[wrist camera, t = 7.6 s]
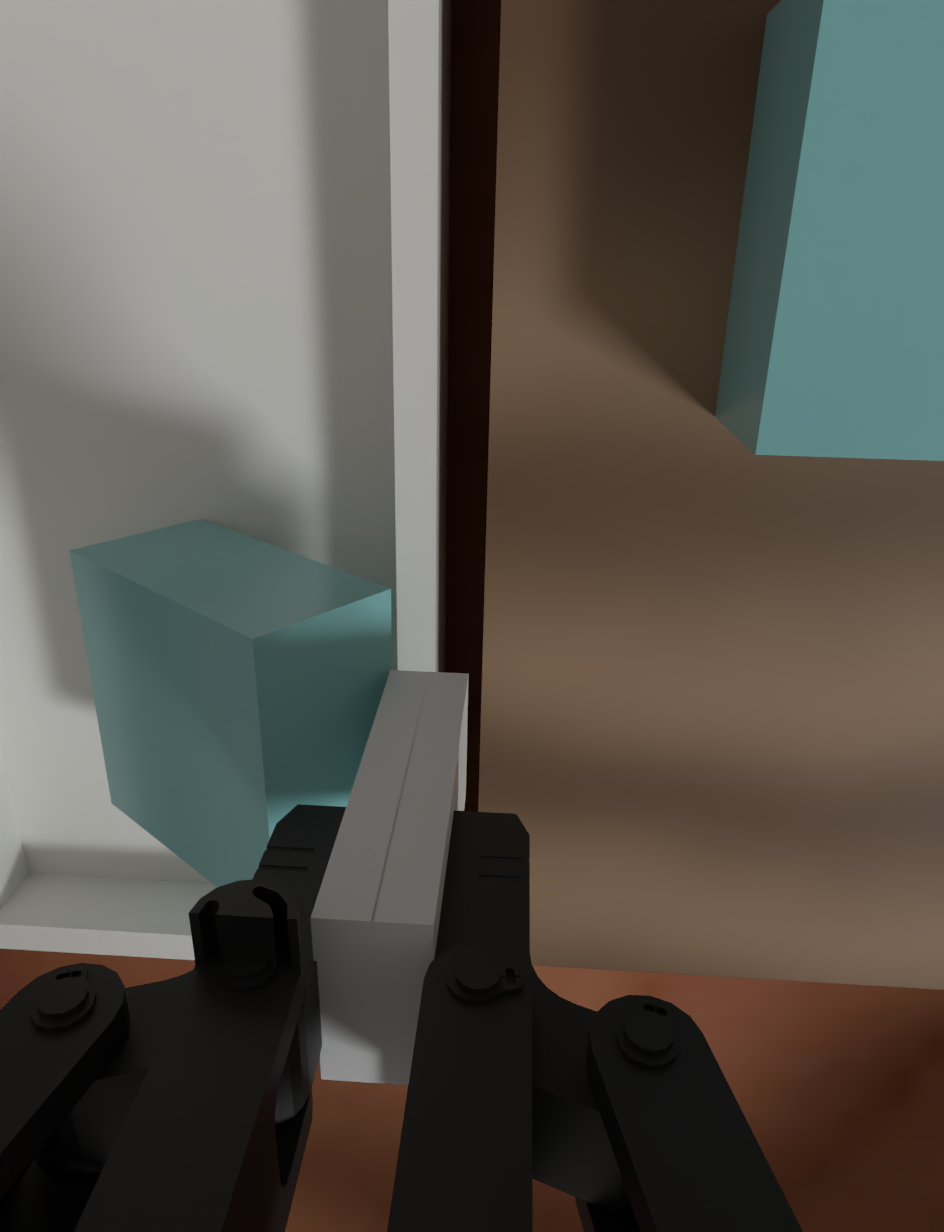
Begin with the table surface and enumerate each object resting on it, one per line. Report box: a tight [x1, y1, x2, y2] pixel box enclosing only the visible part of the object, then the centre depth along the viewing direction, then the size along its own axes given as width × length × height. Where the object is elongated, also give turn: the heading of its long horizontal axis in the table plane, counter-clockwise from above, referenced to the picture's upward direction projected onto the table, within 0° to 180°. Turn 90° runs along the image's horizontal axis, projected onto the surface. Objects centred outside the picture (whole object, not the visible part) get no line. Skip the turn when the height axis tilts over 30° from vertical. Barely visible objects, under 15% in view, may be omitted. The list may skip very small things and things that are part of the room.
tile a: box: [69, 519, 392, 887], centre depth 18 cm, size 6×6×3 cm
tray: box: [0, 0, 452, 960], centre depth 18 cm, size 24×12×2 cm, turn 179°
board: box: [478, 0, 944, 990], centre depth 18 cm, size 22×12×3 cm, turn 179°
